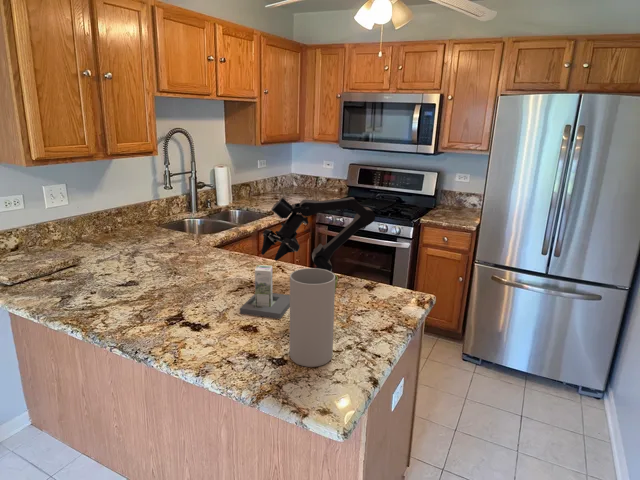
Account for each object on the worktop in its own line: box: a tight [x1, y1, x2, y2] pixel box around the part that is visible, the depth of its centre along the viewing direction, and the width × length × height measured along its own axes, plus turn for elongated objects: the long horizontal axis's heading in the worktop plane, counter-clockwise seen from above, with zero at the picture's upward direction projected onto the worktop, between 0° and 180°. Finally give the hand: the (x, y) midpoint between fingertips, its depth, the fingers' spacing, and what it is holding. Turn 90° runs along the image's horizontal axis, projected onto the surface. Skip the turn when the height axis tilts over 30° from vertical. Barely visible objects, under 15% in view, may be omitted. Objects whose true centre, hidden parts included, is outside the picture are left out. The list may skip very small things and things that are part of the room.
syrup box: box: [254, 264, 273, 307], centre depth 155 cm, size 6×6×14 cm
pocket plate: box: [239, 292, 290, 320], centre depth 155 cm, size 15×16×2 cm
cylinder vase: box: [289, 267, 336, 368], centre depth 121 cm, size 12×12×25 cm
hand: (268, 257), depth 167 cm, fingers open, 9 cm apart
